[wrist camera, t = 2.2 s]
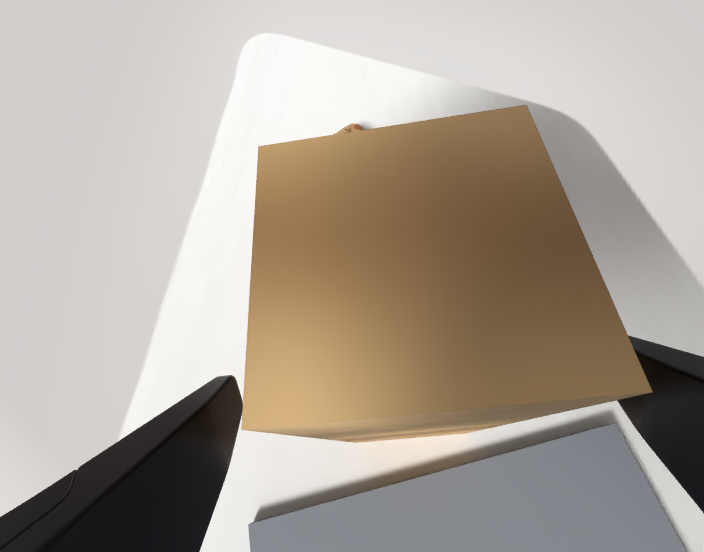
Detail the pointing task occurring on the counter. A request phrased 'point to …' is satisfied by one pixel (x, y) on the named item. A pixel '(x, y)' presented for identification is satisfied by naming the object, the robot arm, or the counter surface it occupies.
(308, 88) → the counter surface
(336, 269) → the wood block
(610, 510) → the slate mat
